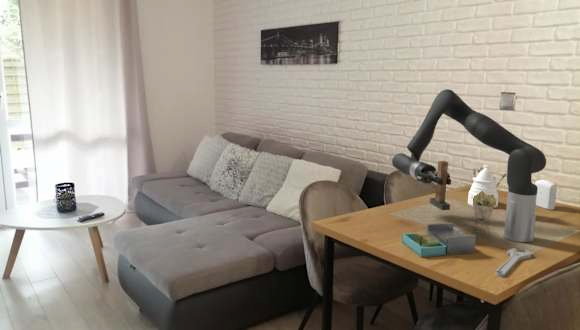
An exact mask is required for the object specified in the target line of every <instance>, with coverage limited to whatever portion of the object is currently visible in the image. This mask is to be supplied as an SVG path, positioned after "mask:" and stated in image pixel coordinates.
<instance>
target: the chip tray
mask: <svg viewBox="0 0 580 330" xmlns="http://www.w3.org/2000/svg"><path fill="white" fill-rule="evenodd" d="M414 237H415V232H411V233H402V234H401V243H402V244H404V245H405V246H406V247H407V248H409V249H410V250H411V251H412V252H414V253H415V254H416V255H418V256H419V257H420V258H425V257H426V258H428V257H437V256H439V257H440V256H447V255H446V250H447V246H445V245H444V244H442V243H441V242H439V246H437V247H424V248H422V247H421V246H420V245H418V244H417V243H416V242H414Z"/></svg>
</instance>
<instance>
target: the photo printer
mask: <svg viewBox="0 0 580 330" xmlns="http://www.w3.org/2000/svg"><path fill="white" fill-rule="evenodd" d="M534 184H535V185H536V186H537V188H538V190H537V198H536V206H537V207H540V208H542V209H545V210H549V211H552V210H554V209H555V208H556V199H557V190H558V186H557V185H556V184H555V183H554V182H552V181H550V180H546V179H538V180H536V181H535V182H534Z"/></svg>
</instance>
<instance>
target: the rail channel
mask: <svg viewBox="0 0 580 330" xmlns="http://www.w3.org/2000/svg"><path fill="white" fill-rule="evenodd" d="M454 224H455V223H454V222H443V223H427V224H426V230H425V231H426V232H427V233H429V234H430V235H431V236H434V237H435V238H437V239H438V240H439V242H441V243H442V244H444V245H445V246H447V250H446V255H445V256H452V255H462V254H463V255H464V254H474V253H475V247H476V235H475V234H467V235H465V234H463V233H461V232H460V231H458V230H456V229H454Z"/></svg>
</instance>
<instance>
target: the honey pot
mask: <svg viewBox="0 0 580 330" xmlns="http://www.w3.org/2000/svg"><path fill="white" fill-rule="evenodd" d="M483 168H484V169H481V170H480V171H479V173H477V175H476V177H475V176H474V177H472V181H473V183H472V184H471V187H470V189H469V191H468V195H467V197H468V198H467V204H468V205H470V206H472V207H474V206H473V198H474V196H476V195H477V194H479V193H480V192H481V191H483V192H484V193H485V194H486V195H494V197H495V200H496V206H495V208H497V207H498V204H499V193H498V187H497V185H496V183H497V180H496V179H495V178H494V177H493V175H492V172H491V171H490V170H489V169H490V165H488V164H484V165H483Z"/></svg>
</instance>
